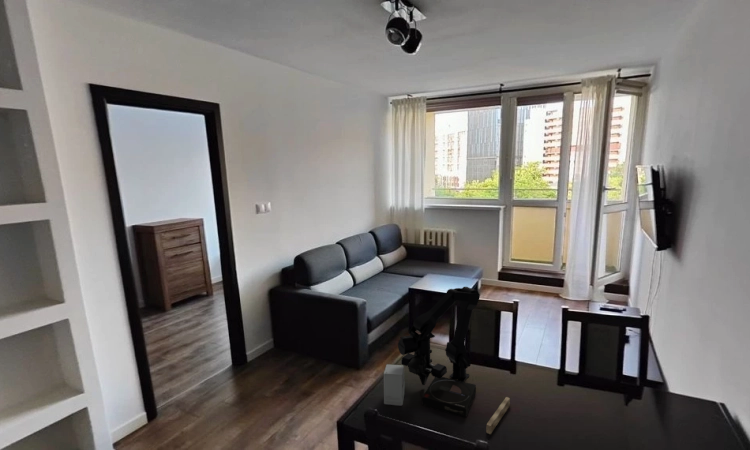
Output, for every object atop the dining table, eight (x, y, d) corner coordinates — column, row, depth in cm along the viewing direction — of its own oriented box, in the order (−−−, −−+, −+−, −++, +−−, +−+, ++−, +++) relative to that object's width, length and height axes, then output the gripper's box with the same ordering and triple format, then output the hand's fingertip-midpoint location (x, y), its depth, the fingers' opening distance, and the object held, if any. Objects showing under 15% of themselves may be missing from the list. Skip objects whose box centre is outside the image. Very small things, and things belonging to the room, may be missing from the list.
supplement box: (402, 406, 133) (402, 375, 132) (383, 404, 135) (382, 373, 133) (405, 394, 140) (404, 365, 139) (386, 393, 142) (386, 363, 140)
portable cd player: (475, 393, 141) (475, 384, 140) (465, 419, 126) (465, 408, 125) (436, 383, 149) (436, 374, 148) (422, 406, 134) (422, 396, 133)
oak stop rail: (506, 404, 133) (506, 396, 132) (509, 405, 132) (509, 398, 131) (486, 432, 118) (486, 424, 118) (490, 434, 117) (490, 426, 117)
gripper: (393, 349, 143) (393, 385, 144) (433, 363, 131) (433, 402, 133) (408, 339, 151) (409, 373, 153) (447, 352, 139) (447, 389, 141)
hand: (423, 384), depth 145 cm, fingers closed
